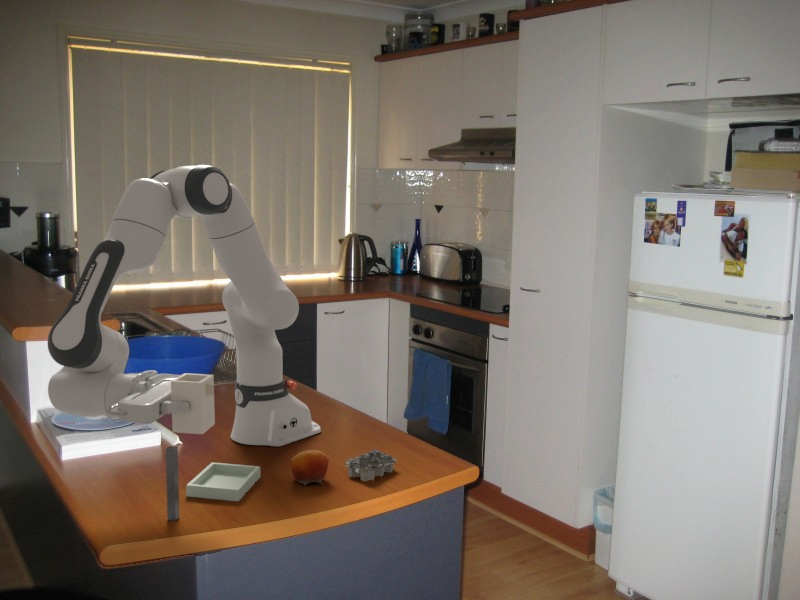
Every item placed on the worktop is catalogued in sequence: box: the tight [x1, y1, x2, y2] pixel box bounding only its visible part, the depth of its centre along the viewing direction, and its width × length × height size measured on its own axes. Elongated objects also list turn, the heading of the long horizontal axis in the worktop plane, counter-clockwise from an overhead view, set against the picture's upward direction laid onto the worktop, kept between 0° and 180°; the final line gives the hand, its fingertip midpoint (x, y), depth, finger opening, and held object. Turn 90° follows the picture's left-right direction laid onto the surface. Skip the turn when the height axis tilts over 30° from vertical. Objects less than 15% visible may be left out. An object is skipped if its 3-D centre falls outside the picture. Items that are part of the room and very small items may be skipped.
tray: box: [185, 462, 261, 502], centre depth 166 cm, size 13×11×2 cm
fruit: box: [290, 449, 330, 486], centre depth 170 cm, size 8×8×8 cm
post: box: [165, 445, 180, 522], centre depth 150 cm, size 2×2×14 cm
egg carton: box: [344, 448, 398, 482], centre depth 176 cm, size 11×8×4 cm
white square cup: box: [171, 372, 216, 435], centre depth 153 cm, size 6×7×10 cm
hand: (197, 400), depth 153 cm, fingers closed on white square cup, 6 cm apart
